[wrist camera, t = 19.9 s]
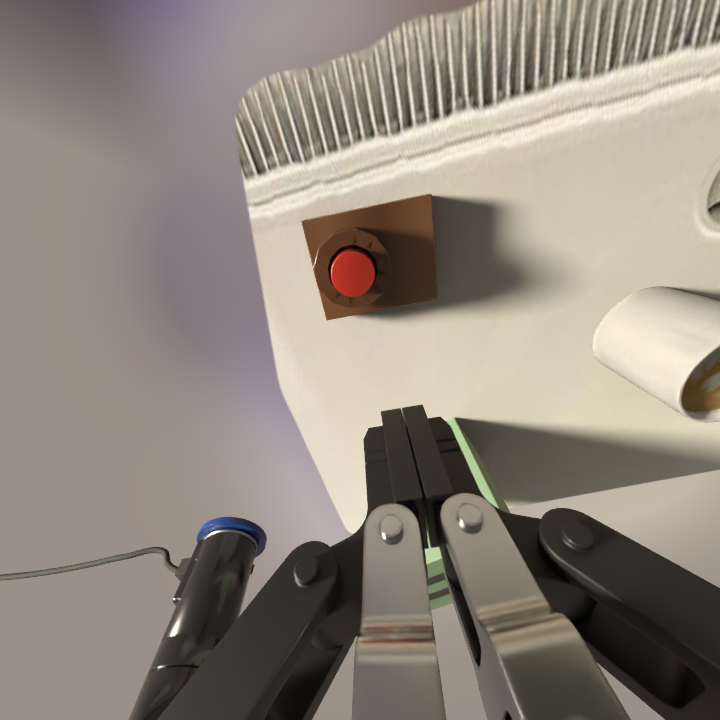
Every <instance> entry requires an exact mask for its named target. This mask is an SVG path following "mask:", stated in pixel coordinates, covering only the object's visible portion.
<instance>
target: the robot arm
mask: <svg viewBox="0 0 720 720" xmlns="http://www.w3.org/2000/svg"><path fill="white" fill-rule="evenodd" d="M402 413H403V415H402ZM381 415H382V422H383V426H379V427H373V428H369V429H368V431H367V433H366V435H365V438H364V453H365V469H366V485H367V501H368V511H367V516H366V519H365V521H364V523H363V524H362V526H361V527H360V529H359V530H358V531H357V532H356V533H354V534H353V535H352V536H350V537H349V538H347V539H345V540H343V541H341V542H339V543H337V544H335V545H333V546H331V547H329V546H328V545H327V544H325V543H322V542H319V541H310V542H307V543H304V544H302V545H300V546H298V547H297V548H296V549H294V550H293V551H292V552H291V553H290V554H289V555H288V557H287V558H286V559H285V561H284V562H283V563H282V564H281V565H280V567H279V568H278V569H277V570H276V572H275V573H274V574H273V576H272V577H271V578H270V579H269V580H268V582H267V583H266V584H265V585H264V587H263V588H262V589H261V590H260V592H259V593H258V594H257V595H256V597H255V598H254V599H253V600H252V602H251V603H250V604H249V605H248V607H247V608H246V609H245V611H244V612H243V613H242V614H241V615H240V617H239V614H240V611H241V607H242V603H243V599H244V596H245V592H246V588H247V584H248V580H249V576H250V574H252V572H253V568H254V565H253V561H254V558H255V554H256V552H257V548H258V542H257V540H256V538H255V537H254V536H253V535H252V534H250V533H248V532H246V531H244V530H241V529H237V528H218V529H215V530H212V531H210V532H209V533H208V534H207V535H206V536H203V537H200V539H199V541H198V544H197V546H196V549H195V550H194V553H193V555H192V557H191V558H186V559H182V561H181V563H180V565H179V567H177V566H175V565H173V564H172V563H171V561H170V555H169V552H168V550H166V549H164V548H161V547H151V548H146V549H142V550H138V551H135V552H131V553H127V554H121V555H116V556H112V557H108V558H104V559H99V560H95V561H91V562H86V563H81V564H76V565H70V566H65V567H59V568H53V569H47V570H40V571H33V572H24V573H14V574H4V575H0V580H10V579H20V578H29V577H36V576H43V575H50V574H56V573H62V572H67V571H73V570H78V569H83V568H88V567H93V566H97V565H101V564H105V563H110V562H114V561H119V560H124V559H129V558H133V557H136V556H140V555H143V554H148V553H160V554H162V555H163V557H164V564H165V566H166V567H167V568H168V569H169V570H170V571H172V572H174V573H176V574H175V576H176V577H177V578H178V579H179V580H180V581H181V583H180V585H179V587H178V589H177V591H176V594H175V596H174V599H173V603H174V604H175V605H176V608H175V610H174V613H173V615H172V618H171V620H170V622H169V625H168V627H167V629H166V632H165V634H164V636H163V639H162V641H161V644H160V646H159V648H158V651H157V653H156V656H155V658H154V660H153V663H152V665H151V667H150V670H149V672H148V675H147V677H146V679H145V681H144V684H143V686H142V688H141V691H140V693H139V696H138V698H137V701H136V704H135V706H134V708H133V711H132V713H131V715H130V718H129V720H312V719H313V716H314V715H315V713H316V711H317V709H318V707H319V705H320V703H321V702H322V699H323V698H324V695H325V694H326V692H327V690H328V688H329V686H330V684H331V683H332V681H333V679H334V677H335V675H336V673H337V671H338V670H339V667H340V666H341V664H342V662H343V660H344V658H345V656H346V654H347V653H348V651H349V649H350V647H351V645H352V643H353V641H354V639H355V637H356V636H358V637H357V641H356V646H355V657H354V679H353V703H352V720H446V714H445V707H444V700H443V692H442V685H441V678H440V671H439V664H438V657H437V649H436V642H435V636H434V630H433V622H432V615H431V607H430V600H429V593H428V586H427V582H428V571H427V563H426V555H425V549H429V546H428V537H429V541H430V546H431V548H435V547H439V549H440V552H441V556H442V560H443V564H444V574H445V579H446V582H447V585H448V588H449V591H450V595H451V598H452V601H453V604H454V607H455V610H456V613H457V616H458V619H459V622H460V625H461V628H462V632H463V635H464V638H465V641H466V644H467V647H468V650H469V653H470V656H471V659H472V662H473V665H474V668H475V672H476V676H477V680H478V684H479V690H480V694H481V697H482V701H483V705H484V709H485V712H486V715H487V719H488V720H631V719H630V718H629V716H628V714H627V713H626V711H625V709H624V708H623V706H622V704H621V702H620V701H619V699H618V697H617V696H616V694H615V693H614V691H613V689H612V688H611V686H610V684H609V683H608V681H607V679H606V677H605V676H604V674H603V672H602V671H601V669H600V668H599V666H598V664H597V663H599V664H600V665H601V666H602V667H603V668H604V669H605V670H607V671H608V672H609V673H610V674H612V675H613V676H614V677H615V678H616V679H617V680H619V681H620V682H621V683H622V684H623V685H625V686H626V687H627V688H628V689H629V690H631V691H632V692H633V693H634V694H635V695H636V696H638V697H639V698H640V699H641V700H642V701H644V702H645V703H646V704H647V705H648V706H650V707H651V708H652V709H653V710H654V711H656V712H657V713H658V714H659V715H660V716H662V717H663V718H664V719H665V720H720V588H718V587H717V586H715V585H713V584H711V583H709V582H708V581H706V580H704V579H702V578H700V577H698V576H697V575H695V574H693V573H691V572H689V571H688V570H686V569H684V568H682V567H680V566H679V565H677V564H675V563H673V562H671V561H669V560H668V559H666V558H664V557H662V556H660V555H659V554H657V553H655V552H653V551H651V550H650V549H648V548H646V547H644V546H642V545H640V544H639V543H637V542H635V541H633V540H631V539H630V538H628V537H626V536H624V535H622V534H620V533H619V532H617V531H615V530H613V529H611V528H609V527H608V526H606V525H604V524H602V523H600V522H599V521H597V520H595V519H593V518H591V517H590V516H588V515H586V514H584V513H581V512H579V511H576V510H572V509H567V508H557V509H552V510H550V511H548V512H546V513H545V514H544V515H543V517H542V519H538V518H532V517H527V516H520V515H515V514H511V513H508V512H505V511H503V510H500V509H498V508H497V507H495V506H494V505H492V504H491V503H490V502H489V501H488V500H487V499H486V498H485V497H484V496H483V495H482V493H481V491H480V489H479V487H478V485H477V483H476V481H475V479H474V476H473V474H472V472H471V470H470V467H469V465H468V463H467V461H466V459H465V456H464V454H463V452H462V450H461V448H460V445H459V443H458V441H457V440H456V437H455V434H454V432H453V430H452V428H451V426H450V425H449V424H448V423H447V422H446V421H445V420H443V419H442V418H441V417H435V418H429V419H428V418H427V415H426V413H425V410H424V407H423V405H417V406H411V407H405V408H402V411H401V408H399V409H393V410H387V411H381ZM427 533H428V537H427Z"/></svg>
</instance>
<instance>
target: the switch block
mask: <svg viewBox="0 0 720 720" xmlns="http://www.w3.org/2000/svg"><path fill="white" fill-rule="evenodd" d="M301 222H302V226H303V230H304V234H305V238H306V242H307V246H308V250H309V254H310V257H311V261H312V265H313V270H314V274H315V278H316V282H317V286H318V289H319V293H320V296H321V300H322V304H323V308H324V312H325V316H326V320H331V319H336V318H341V317H347V316H352V315H357V314H362V313H367V312H373V311H378V310H383V309H388V308H393V307H399V306H404V305H409V304H414V303H420V302H425V301H430V300H435V299H438V296H437V280H436V263H435V247H434V230H433V213H432V197H431V194H425V195H420V196H415V197H411V198H406V199H401V200H396V201H392V202H387V203H382V204H378V205H373V206H368V207H363V208H359V209H354V210H349V211H344V212H340V213H335V214H330V215H326V216H321V217H316V218H311V219H307V220H303V221H301ZM351 248H354V249H359V250H361V251H363V252H365V253H366V254H367V255H368V256H369V257H370V259H371V261H372V263H373V265H374V268H375V279H374V283H373V285H372V286H371V288H370V289H369V290H368V291H367V292H366V293H364V294H362V295H359V296H347V295H344V294H342V293H341V292H339V291H338V290H337V289H336V288H335V286H334V284H333V282H332V279H331V269H332V264H333V261H334V259H335V258H336V256H337V255H338V254H339V253H340V252H342V251H344V250H346V249H351Z"/></svg>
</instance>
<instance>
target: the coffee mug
mask: <svg viewBox="0 0 720 720" xmlns="http://www.w3.org/2000/svg"><path fill="white" fill-rule="evenodd" d="M592 347H593V353H594V355H595V357H596V359H597V360H598V361H599V362H600V363H601V364H602V365H604V366H606V367H607V368H609V369H610V370H612V371H614V372H615V373H617V374H618V375H620V376H621V377H623V378H625V379H626V380H628V381H629V382H631V383H633V384H634V385H636V386H637V387H639V388H641V389H642V390H644V391H645V392H647V393H648V394H650V395H652V396H653V397H655V398H656V399H658V400H660V401H661V402H663V403H664V404H666V405H668V406H669V407H671V408H672V409H674V410H675V411H677V412H679V413H680V414H682V415H684V416H685V417H687V418H689V419H691V420H694V421H698V422H706V423H709V422H720V301H718V300H714V299H711V298H707V297H703V296H699V295H695V294H691V293H688V292H684V291H680V290H676V289H672V288H668V287H651V288H646V289H643V290H640V291H637V292H635V293H633V294H631V295H629V296H628V297H626V298H624V299H623V300H621V301H620V302H619V303H617V304H616V305H615V306H614V307H613V308H612V309H610V310H609V312H608V313H607V314H606V315H605V316H604V318H603V319H602V320H601V322H600V323H599V325H598V327H597V329H596V331H595V334H594V337H593V343H592Z"/></svg>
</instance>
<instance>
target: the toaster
mask: <svg viewBox="0 0 720 720" xmlns="http://www.w3.org/2000/svg"><path fill="white" fill-rule="evenodd" d="M446 422H447V423H448V424H449V425H450V426H451V428H452V430H453V432H454V434H455V437H456V440H457V441H458V443H459V445H460V448H461V450H462V452H463V454H464V456H465V459H466V461H467V463H468V465H469V467H470V470H471V472H472V474H473V476H474V479H475V481H476V483H477V485H478V487H479V489H480V491H481V493H482V495H483V496H484V497H485V498H486V499H487V500H488V501H489V502H490V503H491V504H492V505H494V506H495V507H497V508H498V509H500V510H503V511H505V512H508V513H510V511H509V509H508V507H507V506H506V504H505V502H504V500H503V498H502V496H501V494H500V492H499V490H498V488H497V487H496V485H495V483H494V481H493V479H492V477H491V475H490V473H489V471H488V470H487V468H486V466H485V464H484V462H483V460H482V458H481V456H480V454H479V453H478V452H477V450H476V449H475V447H474V446H473V444H472V443H471V441H470V440H469V438H468V437H467V435H466V434H465V433H464V431H463V430H462V428H461V427H460V425H459V424H458V422H457V421H456V419H455V418H452V419H450V420H448V421H446ZM427 537H428V533H427ZM428 546H429V549H425V555H426V563H427V571H428V582H427V586H428V593H429V600H430V607H431V610H434V609H436V608H439V607H442V606H445V605H448V604H451V603H453V601H452V598H451V595H450V591H449V588H448V585H447V582H446V579H445V574H444V564H443V560H442V556H441V552H440V549H439V547H435V548H431V546H430V541H429V537H428Z"/></svg>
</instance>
